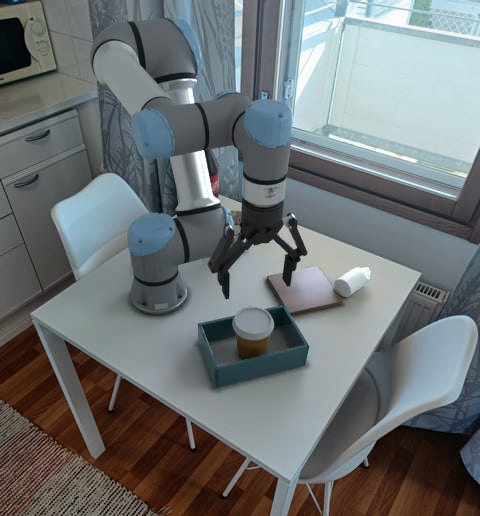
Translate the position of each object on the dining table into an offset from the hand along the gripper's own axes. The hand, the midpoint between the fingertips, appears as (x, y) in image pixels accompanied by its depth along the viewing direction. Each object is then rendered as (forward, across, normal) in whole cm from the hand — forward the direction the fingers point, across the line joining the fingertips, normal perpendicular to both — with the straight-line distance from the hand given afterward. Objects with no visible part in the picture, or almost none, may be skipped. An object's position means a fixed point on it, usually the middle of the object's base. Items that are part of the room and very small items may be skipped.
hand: (256, 288), depth 93 cm
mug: (+21, +10, +41) cm, 48 cm away
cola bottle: (+21, +5, +57) cm, 61 cm away
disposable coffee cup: (+22, 0, 0) cm, 22 cm away
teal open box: (+21, 0, 0) cm, 21 cm away
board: (+21, +22, +17) cm, 35 cm away
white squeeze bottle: (+22, +37, +15) cm, 45 cm away
